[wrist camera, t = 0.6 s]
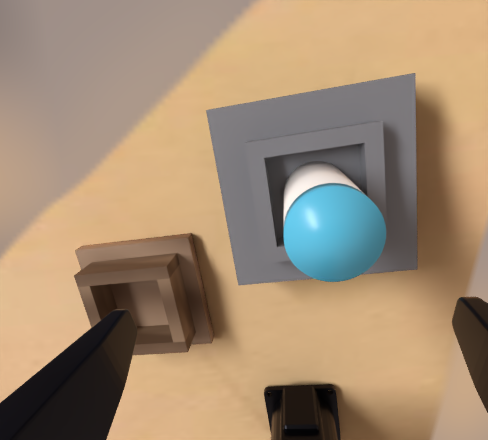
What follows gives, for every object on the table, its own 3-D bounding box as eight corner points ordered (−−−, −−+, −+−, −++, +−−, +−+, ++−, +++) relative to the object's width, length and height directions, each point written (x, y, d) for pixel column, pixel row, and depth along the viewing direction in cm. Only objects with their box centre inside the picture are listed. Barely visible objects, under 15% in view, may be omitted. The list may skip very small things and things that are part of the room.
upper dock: (397, 246, 25) (426, 280, 20) (244, 261, 27) (235, 296, 22) (392, 80, 22) (426, 69, 17) (218, 111, 24) (200, 109, 18)
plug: (350, 218, 21) (388, 277, 13) (287, 226, 22) (289, 285, 14) (345, 156, 20) (384, 181, 12) (280, 165, 20) (277, 195, 13)
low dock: (213, 335, 30) (205, 363, 26) (113, 342, 31) (92, 369, 28) (191, 233, 27) (178, 249, 24) (81, 246, 28) (55, 263, 25)
